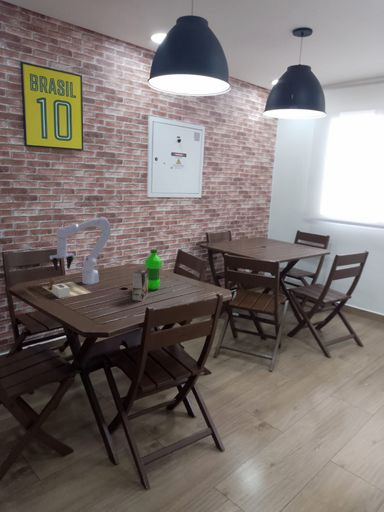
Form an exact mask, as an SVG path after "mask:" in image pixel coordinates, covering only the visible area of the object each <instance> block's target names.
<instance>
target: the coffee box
mask: <svg viewBox="0 0 384 512" xmlns="http://www.w3.org/2000/svg"><path fill="white" fill-rule="evenodd" d="M148 294H149V288H148V270H147V269H138V268H137V269H136V270H135V271H134V272H133V273H132V300H133V301H139V302H143V301H145V300H146V298H148Z"/></svg>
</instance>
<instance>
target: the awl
mask: <svg viewBox="0 0 384 512" xmlns="http://www.w3.org/2000/svg"><path fill="white" fill-rule="evenodd" d="M48 283H49V285H48V286H49V287H50V288H49V289H50V290H53V286H52V285H55V284H56V279H54V278H52V279H49V282H48Z"/></svg>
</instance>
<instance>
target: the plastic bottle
mask: <svg viewBox="0 0 384 512" xmlns="http://www.w3.org/2000/svg"><path fill="white" fill-rule="evenodd" d="M150 253H151V254H150V255H149V256H148V257H147V258H145V260H144V261H145V263H144V265H145V267H146V270H148V290H151V291H152V290H154V291H155V290H157V289H158V288H159V287H160V286H161V278H160V268H161V267H162V259H161V258H160V257H159V256H158V255H157V253H158V249H155V248H151V249H150Z"/></svg>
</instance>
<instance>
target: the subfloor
mask: <svg viewBox="0 0 384 512" xmlns="http://www.w3.org/2000/svg"><path fill="white" fill-rule="evenodd" d="M57 284H58V283H55V285H57ZM60 284H65V285H66V286H68V287H70V296H67V297H62V298H61V299H63V298H70V297H76V296H82V295H86V294H92V293H93V292H92V291H90V290H88V289H86V288H84V287H83V286H81V285H79V284H77V283H76V282H73V281H68V282H62V283H60ZM42 288H43V289H45V290H47V291H48V292H49V293H51V294H52V295H54V294H53V289H50V287H49V285H44V286H42ZM54 296H55V297H57V296H56V295H54ZM57 298H59V297H57ZM59 299H60V298H59Z"/></svg>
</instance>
